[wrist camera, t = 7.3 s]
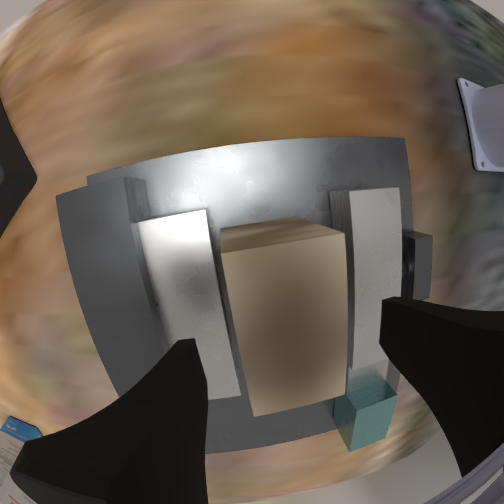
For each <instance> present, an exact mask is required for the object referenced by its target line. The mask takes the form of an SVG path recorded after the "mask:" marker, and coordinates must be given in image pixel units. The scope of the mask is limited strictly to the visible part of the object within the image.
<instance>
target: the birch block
mask: <svg viewBox="0 0 504 504" xmlns="http://www.w3.org/2000/svg"><path fill="white" fill-rule="evenodd" d="M220 241H221V257H222V263H223V269H224V274H225V280H226V285H227V290H228V296H229V301H230V306H231V311H232V317H233V322H234V327H235V332H236V337H237V342H238V346H239V351H240V356H241V361H242V366H243V370H244V375H245V380H246V384H247V389H248V393H249V398H250V402H251V407H252V411H253V415H254V417H255V416H260V415H266V414H271V413H276V412H280V411H285V410H289V409H294V408H298V407H302V406H306V405H310V404H313V403H317V402H321V401H324V400H328V399H331V398H334V397H337V396H341V395H344V394H345V385H346V369H347V342H348V290H347V263H346V246H345V233H343V232H340V231H337V230H334V229H331V228H328V227H325V226H322V225H319V224H316V223H313V222H310V221H307V220H304V219H301V218H298V217H290V218H283V219H276V220H270V221H263V222H257V223H250V224H244V225H238V226H232V227H226V228H220Z"/></svg>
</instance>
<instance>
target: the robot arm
mask: <svg viewBox="0 0 504 504" xmlns="http://www.w3.org/2000/svg"><path fill="white" fill-rule="evenodd" d="M457 82H458V86H459V89H460V93H461V97H462V100H463V104H464V109H465V113H466V118H467V122H468V127H469V133H470V139H471V145H472V152H473V160H474V166H475V168H476V170H481V171H497V172H504V84H500V85H496V86H492V87H488V88H484V87H482V86H479V85H477V84H475V83H473V82H470V81H468V80H465V79H463V78H459V79H458V80H457ZM379 344H380V346H381V347H382V349H383V351H384V352H385V354H386V355H387V357H388V358H389V360H390V361H391V362H392V364H393V365H394V366H395V367H396V368H397V369H398V370H399V372H400V373H401V374H402V375H403V376H404V377H405V378H406V379H407V380H408V382H409V383H410V384H411V385H412V386H413V387H414V388H415V389H416V391H417V392H418V393H419V394H420V395H421V396H422V398H423V399H424V400H425V402H426V403H427V405H428V406H429V408H430V409H431V411H432V412H433V414H434V415H435V417H436V419H437V421H438V422H439V424H440V426H441V428H442V429H443V431H444V433H445V435H446V437H447V439H448V441H449V444H450V445H451V448H452V450H453V453H454V455H455V458H456V461H457V463H458V466H459V469H460V472H461V476H462V479H460V480H459V481H458V482H456V483H455V484H453V485H452V486H451V487H449V488H448V489H446V490H445V491H443V492H442V493H440V494H439V495H437V496H435V497H434V498H432V499H431V500H429V501H427V502H426V503H424V504H460V503H461V502H463V501H464V500H465V499H466V498H468V497H469V496H470V495H472V494H473V493H474V492H475V491H476V490H478V489H479V488H480V487H481V486H482V485H484V484H485V483H486V482H487V481H488V480H489V479H490V478H491V477H493V476H494V475H495V474H496V473H497V472H498V471H499V470H500V469H501V468H502V467H503V466H504V311H478V310H467V309H461V308H454V307H449V306H444V305H439V304H434V303H430V302H425V301H420V300H416V299H411V298H405V297H398V296H393V297H390V298H386V299H383V300H382V308H381V324H380V336H379ZM207 417H208V386H207V379H206V376H205V372H204V369H203V366H202V362H201V359H200V355H199V352H198V348H197V345H196V341H195V338H190V339H181V340H178V341H177V342H176V343H175V344H174V345H173V346H172V347H171V348H170V349H169V350H168V351H167V353H166V354H165V355H164V356H163V357H162V358H161V359H160V360H159V361H158V363H157V364H156V365H155V366H154V367H153V368H152V369H151V370H150V371H149V372H148V373H147V374H146V375H145V376H144V377H143V378H142V379H141V380H140V381H139V382H138V383H137V384H136V385H134V386H133V387H132V388H131V389H130V390H129V391H127V392H126V393H125V394H124V395H122V396H121V397H120V398H118V399H117V400H116V401H114V402H113V403H112V404H110V405H109V406H107V407H105V408H104V409H102V410H101V411H99V412H97V413H96V414H94V415H92V416H91V417H89V418H87V419H85V420H83V421H81V422H79V423H77V424H75V425H73V426H71V427H68V428H66V429H63V430H61V431H58V432H56V433H53V434H50V435H46V436H43V437H40V438H36V439H33V440H28V441H26V442H25V443H24V445H23V447H22V449H21V450H20V452H19V454H18V456H17V458H16V460H15V462H14V464H13V466H12V468H11V470H10V472H9V474H10V476H11V478H12V480H13V482H14V483H15V484H16V485H17V486H18V488H20V489H21V490H22V491H23V492H24V493H25V494H26V495H27V496H28V497H30V498H31V499H32V500H33V501H34V502H36V503H37V504H208V496H207V486H206V474H205V443H206V430H207ZM471 504H504V467H503V473H502V474H501V475H500V476H499V477H498V478H497V479H496V480H495V481H494V482H493V483H492V484H491V486H489V487H488V488H487V489H486V490H485V491H484V492H483V493H482V494H481V495H480V496H479V497H478V498H476V499H475V500H474V501H473V502H472V503H471Z"/></svg>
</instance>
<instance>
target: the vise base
mask: <svg viewBox="0 0 504 504" xmlns="http://www.w3.org/2000/svg"><path fill="white" fill-rule="evenodd" d="M87 184H88V186H85V187H82V188H79V189H75V190H72V191H69V192H66V193H63V194H60V195H57V196H56V202H57V209H58V216H59V221H60V227H61V232H62V237H63V242H64V247H65V251H66V256H67V260H68V264H69V268H70V272H71V275H72V279H73V283H74V286H75V289H76V293H77V296H78V299H79V302H80V305H81V308H82V311H83V314H84V317H85V320H86V323H87V325H88V328H89V331H90V333H91V336H92V339H93V341H94V344H95V346H96V348H97V351H98V353H99V356H100V358H101V360H102V362H103V365H104V367H105V369H106V371H107V373H108V375H109V378H110V380H111V382H112V384H113V386H114V388H115V390H116V392H117V394H118V395H119V397H121V396H122V395H124V394H125V393H126V392H127V391H129V390H130V389H131V388H132V387H133V386H134V385H136V384H137V383H138V382H139V381H140V380H141V379H142V378H143V377H144V376H145V375H146V374H147V373H148V372H149V371H150V370H151V369H152V368H153V367H154V366H155V365H156V364H157V363H158V361H159V360H160V359H161V358H162V357H163V356H164V355H165V354H166V353H167V351H168V350H169V349H170V348H171V347H172V346H173V345H174V344H175V343H176V342H177V341H178V340H181V339H190V338H195V341H196V345H197V348H198V352H199V355H200V359H201V362H202V366H203V369H204V372H205V376H206V379H207V386H208V417H207V430H206V443H205V454H210V453H221V452H230V451H238V450H246V449H252V448H259V447H264V446H270V445H275V444H280V443H285V442H289V441H294V440H298V439H302V438H306V437H310V436H313V435H317V434H321V433H324V432H328V431H331V430H334V429H337V427H336V425H335V423H334V421H333V418H334V404H335V397H334V398H331V399H328V400H324V401H321V402H317V403H313V404H310V405H306V406H302V407H298V408H294V409H289V410H285V411H280V412H276V413H271V414H266V415H260V416H255V417H254V415H253V411H252V407H251V402H250V398H249V393H248V389H247V384H246V380H245V375H244V370H243V366H242V361H241V356H240V351H239V346H238V342H237V337H236V332H235V327H234V322H233V317H232V311H231V306H230V301H229V296H228V290H227V285H226V280H225V274H224V269H223V263H222V257H221V241H220V228H226V227H232V226H238V225H244V224H250V223H257V222H263V221H270V220H276V219H283V218H290V217H298V218H301V219H304V220H307V221H310V222H313V223H316V224H319V225H322V226H325V227H328V228H331V229H332V218H331V208H330V198H329V191H334V190H345V189H356V188H368V187H399V191H400V205H401V224H402V278H401V297H405V298H411V299H416V300H420V301H421V300H424V299H427V298H429V295H430V284H431V270H432V242H433V236H431V235H428V234H424V233H420V232H416V231H413V217H412V199H411V186H410V176H409V167H408V159H407V152H406V145H405V139H404V138H385V137H322V138H301V139H286V140H274V141H263V142H254V143H245V144H237V145H229V146H222V147H215V148H209V149H203V150H197V151H191V152H186V153H180V154H175V155H170V156H165V157H160V158H156V159H151V160H147V161H142V162H138V163H134V164H130V165H126V166H122V167H118V168H115V169H111V170H107V171H104V172H100V173H97V174H93V175H90V176H87ZM399 377H400V372H399V370H398V369H397V368H396V367H395V366H394V365H393V364H392V362H391V361H390V360H389V363H388V370H387V376H386V382H387V383H388V384H389V385H390V386H391V387H392V389H393V390H394V391H395V392H396V390H397V386H398V381H399Z"/></svg>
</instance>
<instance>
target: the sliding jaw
mask: <svg viewBox="0 0 504 504" xmlns="http://www.w3.org/2000/svg"><path fill="white" fill-rule="evenodd" d="M329 198H330V208H331V218H332V229H334V230H337V231H340V232H343V233H345V246H346V263H347V290H348V342H347V369H346V385H345V394H344V395H341V396H337V397H335V404H334V418H333V421H334V423H335V425H336V427H337V429H338V431H339V433H340V435H341V437H342V439H343V441H344V443H345V445H346V447H347V449H348V451H349V452H351V451H354V450H357V449H359V448H362V447H365V446H367V445H370V444H372V443H375V442H377V441H379V440H382V439H384V438H385V437H386V434H387V431H388V427H389V424H390V421H391V417H392V414H393V410H394V407H395V403H396V399H397V393H396V392H395V391H394V390H393V389H392V387H391V386H390V385H389V384H388V383H387V382H386V376H387V370H388V363H389V358H388V357H387V355H386V354H385V352H384V351H383V349H382V347H381V346H380V344H379V336H380V324H381V308H382V300H383V299H386V298H390V297H393V296H398V297H401V278H402V224H401V205H400V191H399V187H368V188H356V189H345V190H334V191H329Z"/></svg>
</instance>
